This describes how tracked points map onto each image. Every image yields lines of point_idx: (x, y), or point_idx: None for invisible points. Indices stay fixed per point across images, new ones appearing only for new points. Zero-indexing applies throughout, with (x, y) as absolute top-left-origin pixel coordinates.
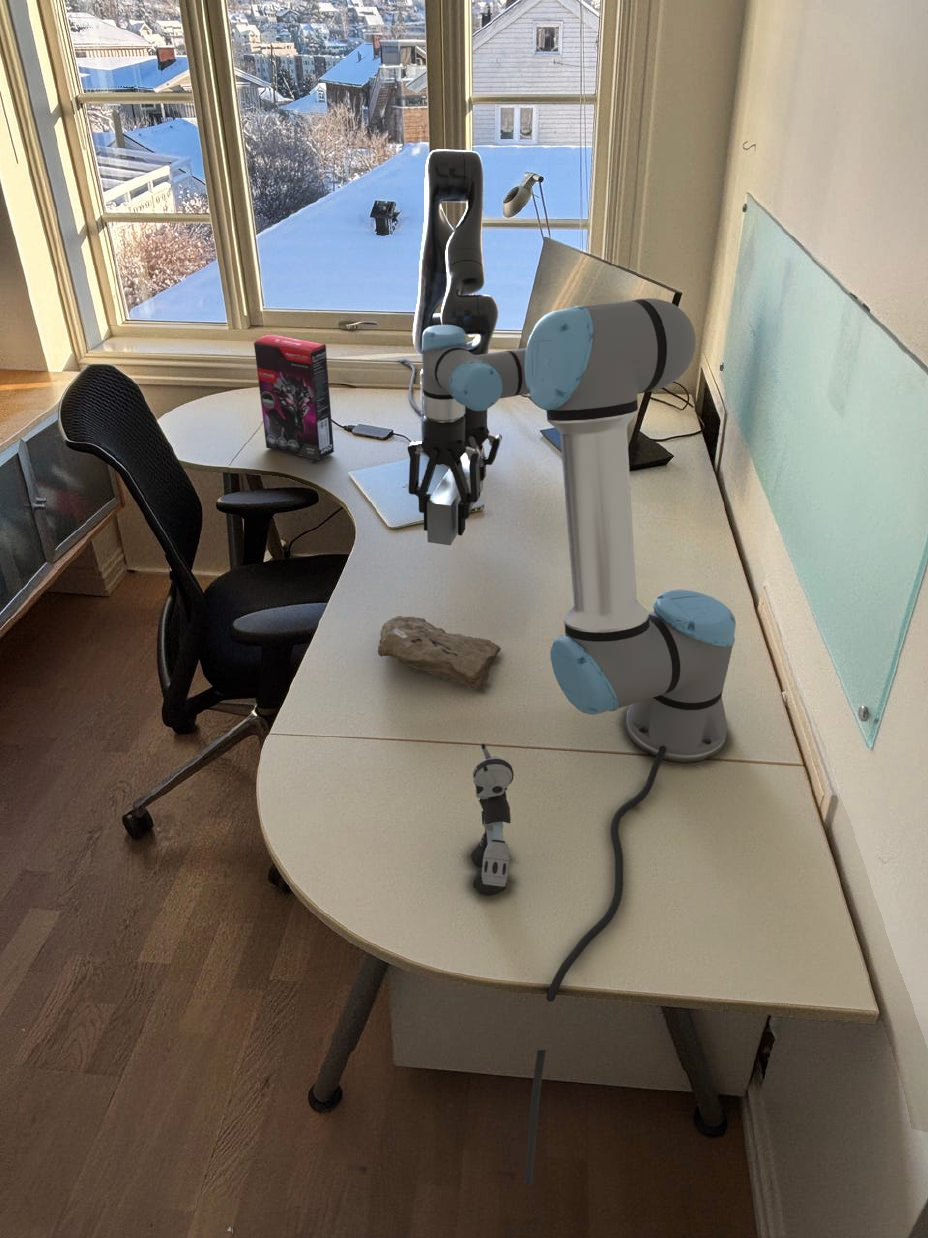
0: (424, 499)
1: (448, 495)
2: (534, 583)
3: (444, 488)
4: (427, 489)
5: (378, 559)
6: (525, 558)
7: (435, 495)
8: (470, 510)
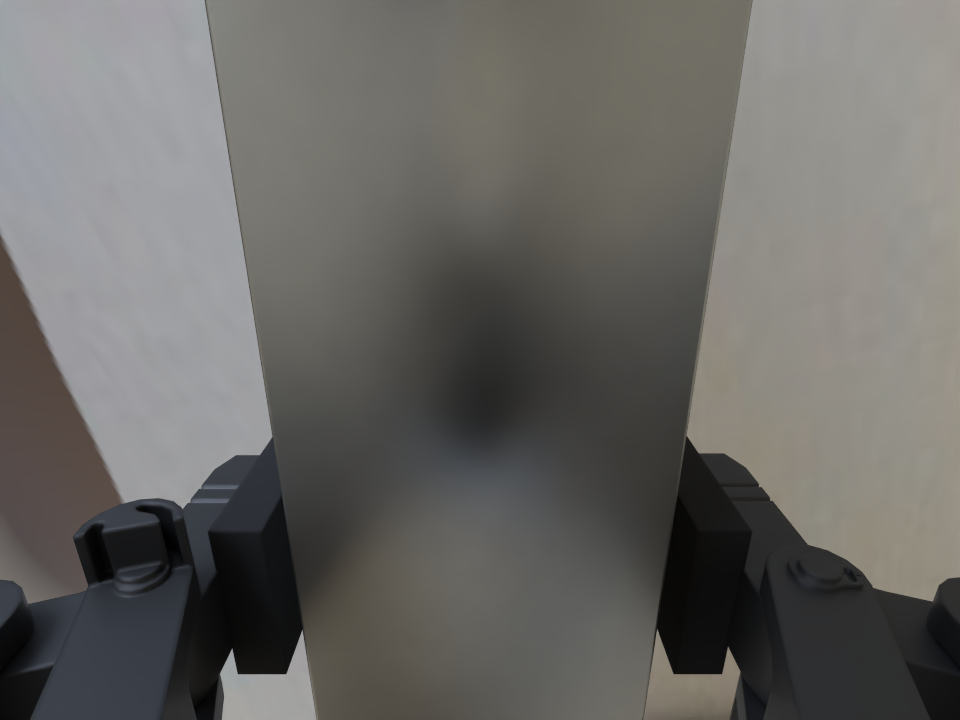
0: (246, 664)
1: (538, 657)
2: (927, 297)
3: (412, 492)
4: (188, 639)
5: (126, 289)
6: (894, 45)
7: (364, 691)
8: (761, 491)
